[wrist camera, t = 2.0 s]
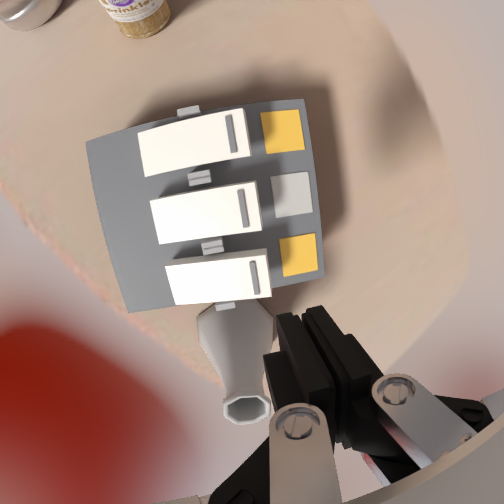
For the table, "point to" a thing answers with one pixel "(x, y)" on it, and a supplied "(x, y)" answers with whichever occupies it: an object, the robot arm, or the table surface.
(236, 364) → the flask
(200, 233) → the switch
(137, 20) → the sprinkles bottle
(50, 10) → the plastic bottle
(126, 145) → the console
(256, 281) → the switch
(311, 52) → the table surface
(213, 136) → the switch
